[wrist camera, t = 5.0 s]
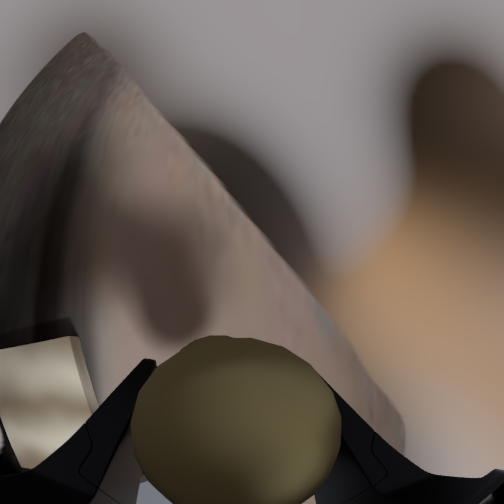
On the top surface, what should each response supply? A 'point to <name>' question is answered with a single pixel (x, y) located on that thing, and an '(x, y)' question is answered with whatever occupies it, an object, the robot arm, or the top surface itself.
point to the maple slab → (44, 396)
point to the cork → (235, 425)
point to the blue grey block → (149, 494)
